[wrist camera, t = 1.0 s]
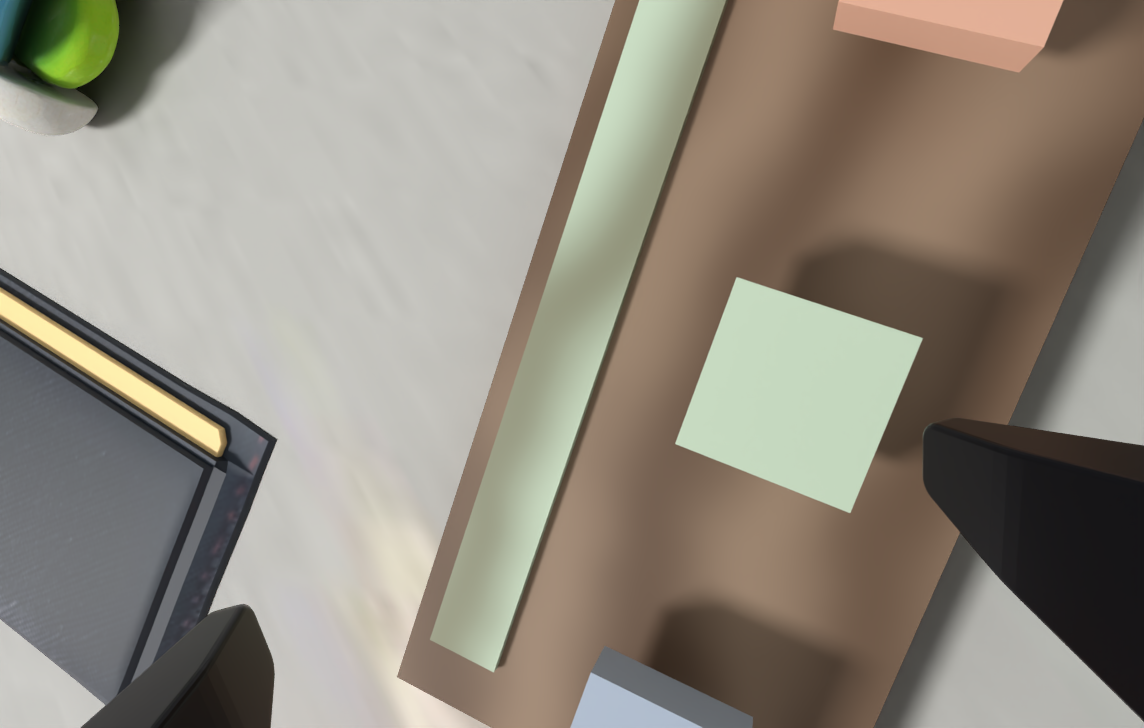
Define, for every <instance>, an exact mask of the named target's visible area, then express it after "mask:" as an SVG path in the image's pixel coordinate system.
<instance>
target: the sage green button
mask: <svg viewBox="0 0 1144 728" xmlns="http://www.w3.org/2000/svg"><path fill="white" fill-rule="evenodd" d="M922 339H923V338H921V337H918V336H915V335H912V334H909V333H906V332H902V331H899V330H896V329H893V328H890V327H887V326H884V325H881V324H878V323H875V322H872V321H869V320H866V319H863V318H860V317H857V316H854V315H851V314H848V313H845V312H842V311H838V310H835V309H832V308H829V307H826V306H823V305H820V304H817V303H814V302H811V301H808V300H805V299H802V298H799V297H796V296H793V295H790V294H787V293H784V292H781V291H777V290H774V289H771V288H768V287H765V286H762V285H759V284H756V283H753V282H750V281H747V280H744V279H741V278H738V277H737V278H736V280H735V283H734V286H733V288H732V291H731V294H730V297H729V299H728V302H727V305H726V307H725V310H724V313H723V315H722V318H721V321H720V324H719V326H718V329H717V332H716V334H715V337H714V340H713V343H712V345H711V348H710V351H709V353H708V356H707V359H706V362H705V364H704V367H703V370H702V372H701V375H700V378H699V381H698V383H697V386H696V389H695V391H694V394H693V397H692V399H691V402H690V405H689V408H688V410H687V413H686V416H685V418H684V421H683V424H682V427H681V429H680V432H679V435H678V437H677V440H676V443H675V444H677V445H679V446H682V447H684V448H687V449H689V450H692V451H694V452H697V453H699V454H702V455H704V456H707V457H709V458H712V459H714V460H717V461H720V462H722V463H725V464H727V465H730V466H732V467H735V468H737V469H740V470H742V471H745V472H747V473H750V474H752V475H755V476H757V477H760V478H762V479H765V480H768V481H770V482H773V483H775V484H778V485H780V486H783V487H785V488H788V489H790V490H793V491H795V492H798V493H800V494H803V495H805V496H808V497H810V498H813V499H816V500H818V501H821V502H823V503H826V504H828V505H831V506H833V507H836V508H838V509H841V510H843V511H846V512H848V513H850V512H851V510H852V508H853V505H854V503H855V500H856V498H857V496H858V493H859V491H860V488H861V486H862V484H863V481H864V479H865V476H866V474H867V472H868V469H869V467H870V464H871V462H872V459H873V457H874V455H875V452H876V450H877V447H878V445H879V443H880V440H881V438H882V435H883V433H884V431H885V428H886V426H887V423H888V421H889V419H890V416H891V414H892V411H893V409H894V407H895V404H896V402H897V399H898V397H899V395H900V392H901V390H902V387H903V385H904V383H905V380H906V378H907V375H908V373H909V370H910V368H911V366H912V363H913V361H914V358H915V356H916V354H917V351H918V349H919V346H920V344H921V342H922Z"/></svg>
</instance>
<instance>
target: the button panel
mask: <svg viewBox="0 0 1144 728" xmlns="http://www.w3.org/2000/svg"><path fill="white" fill-rule="evenodd" d="M838 1H839V0H615V3H614V6H613V9H612V12H611V15H610V19H609V22H608V25H607V28H606V31H605V34H604V37H603V40H602V43H601V46H600V50H599V53H598V56H597V59H596V62H595V65H594V68H593V71H592V74H591V77H590V81H589V84H588V87H587V90H586V93H585V96H584V99H583V102H582V105H581V108H580V112H579V115H578V118H577V121H576V124H575V127H574V130H573V133H572V136H571V139H570V143H569V146H568V149H567V152H566V155H565V158H564V161H563V164H562V167H561V170H560V174H559V177H558V180H557V183H556V186H555V189H554V192H553V195H552V198H551V201H550V205H549V208H548V211H547V214H546V217H545V220H544V223H543V226H542V229H541V232H540V235H539V239H538V242H537V245H536V248H535V251H534V254H533V257H532V260H531V263H530V266H529V270H528V273H527V276H526V279H525V282H524V285H523V288H522V291H521V294H520V297H519V301H518V304H517V307H516V310H515V313H514V316H513V319H512V322H511V325H510V328H509V332H508V335H507V338H506V341H505V344H504V347H503V350H502V353H501V356H500V359H499V363H498V366H497V369H496V372H495V375H494V378H493V381H492V384H491V387H490V390H489V394H488V397H487V400H486V403H485V406H484V409H483V412H482V415H481V418H480V421H479V425H478V428H477V431H476V434H475V437H474V440H473V443H472V446H471V449H470V452H469V456H468V459H467V462H466V465H465V468H464V471H463V474H462V477H461V480H460V483H459V487H458V490H457V493H456V496H455V499H454V502H453V505H452V508H451V511H450V514H449V517H448V521H447V524H446V527H445V530H444V533H443V536H442V539H441V542H440V545H439V548H438V552H437V555H436V558H435V561H434V564H433V567H432V570H431V573H430V576H429V579H428V583H427V586H426V589H425V592H424V595H423V598H422V601H421V604H420V607H419V610H418V614H417V617H416V620H415V623H414V626H413V629H412V632H411V635H410V638H409V641H408V645H407V648H406V651H405V654H404V657H403V660H402V663H401V666H400V669H399V672H398V676H397V677H398V678H400V679H402V680H404V681H405V682H407V683H409V684H411V685H413V686H415V687H417V688H419V689H420V690H422V691H424V692H426V693H428V694H430V695H432V696H434V697H435V698H437V699H439V700H441V701H443V702H445V703H447V704H448V705H450V706H452V707H454V708H456V709H458V710H460V711H462V712H463V713H465V714H467V715H469V716H471V717H473V718H475V719H477V720H478V721H480V722H482V723H484V724H486V725H488V726H490V727H492V728H570V727H571V725H572V722H573V719H574V716H575V714H576V711H577V708H578V706H579V703H580V700H581V698H582V695H583V692H584V689H585V687H586V684H587V681H588V679H589V676H590V673H591V671H592V669H593V667H594V665H595V663H596V661H597V660H598V658H599V656H600V654H601V652H602V650H603V648H604V646H606V647H608V648H611V649H613V650H615V651H617V652H619V653H621V654H623V655H625V656H627V657H629V658H631V659H633V660H635V661H638V662H640V663H642V664H644V665H646V666H648V667H650V668H652V669H654V670H656V671H658V672H660V673H662V674H665V675H667V676H669V677H671V678H673V679H675V680H677V681H679V682H681V683H683V684H685V685H687V686H689V687H692V688H694V689H696V690H698V691H700V692H702V693H704V694H706V695H708V696H710V697H712V698H714V699H716V700H719V701H721V702H723V703H725V704H727V705H729V706H731V707H733V708H735V709H737V710H739V711H741V712H743V713H746V714H748V715H750V716H752V717H753V726H752V728H874V725H875V723H876V721H877V719H878V716H879V714H880V712H881V710H882V707H883V705H884V703H885V701H886V698H887V696H888V694H889V692H890V689H891V687H892V685H893V683H894V680H895V678H896V676H897V674H898V671H899V669H900V667H901V665H902V662H903V660H904V658H905V656H906V653H907V651H908V649H909V647H910V644H911V642H912V640H913V637H914V635H915V633H916V631H917V628H918V626H919V624H920V622H921V619H922V617H923V615H924V613H925V610H926V608H927V606H928V604H929V601H930V599H931V597H932V595H933V592H934V590H935V588H936V586H937V583H938V581H939V579H940V577H941V574H942V572H943V570H944V568H945V565H946V563H947V561H948V559H949V556H950V554H951V552H952V549H953V547H954V545H955V543H956V540H957V538H958V536H959V534H960V532H959V530H958V529H957V528H956V527H955V526H954V524H953V523H952V522H951V521H950V520H949V518H948V517H947V516H946V515H945V514H944V512H943V511H942V510H941V509H940V508H939V506H938V505H937V504H936V503H935V502H934V500H933V499H932V498H931V497H930V495H929V494H928V492H927V490H926V488H925V486H924V482H923V476H922V467H923V432H924V430H925V428H926V427H927V426H928V425H929V424H931V423H934V422H938V421H942V420H946V419H950V418H964V419H971V420H977V421H984V422H991V423H997V424H1004V425H1008V423H1009V421H1010V419H1011V416H1012V414H1013V412H1014V410H1015V407H1016V405H1017V403H1018V401H1019V398H1020V396H1021V394H1022V392H1023V389H1024V387H1025V385H1026V383H1027V380H1028V378H1029V376H1030V374H1031V371H1032V369H1033V367H1034V364H1035V362H1036V360H1037V358H1038V355H1039V353H1040V351H1041V349H1042V346H1043V344H1044V342H1045V340H1046V337H1047V335H1048V333H1049V331H1050V328H1051V326H1052V324H1053V322H1054V319H1055V317H1056V315H1057V313H1058V310H1059V308H1060V306H1061V304H1062V301H1063V299H1064V297H1065V295H1066V292H1067V290H1068V288H1069V286H1070V283H1071V281H1072V279H1073V276H1074V274H1075V272H1076V270H1077V267H1078V265H1079V263H1080V261H1081V258H1082V256H1083V254H1084V252H1085V249H1086V247H1087V245H1088V243H1089V240H1090V238H1091V236H1092V234H1093V231H1094V229H1095V227H1096V225H1097V222H1098V220H1099V218H1100V216H1101V213H1102V211H1103V209H1104V207H1105V204H1106V202H1107V200H1108V198H1109V195H1110V193H1111V191H1112V188H1113V186H1114V184H1115V182H1116V179H1117V177H1118V175H1119V173H1120V170H1121V168H1122V166H1123V164H1124V161H1125V159H1126V157H1127V155H1128V152H1129V150H1130V148H1131V146H1132V143H1133V141H1134V139H1135V137H1136V134H1137V132H1138V130H1139V128H1140V125H1141V123H1142V121H1143V119H1144V0H1063V2H1062V5H1061V7H1060V10H1059V12H1058V14H1057V17H1056V19H1055V22H1054V24H1053V26H1052V29H1051V31H1050V34H1049V36H1048V39H1047V41H1046V43H1045V46H1044V48H1043V49H1042V50H1041V51H1040V52H1039V53H1038V54H1037V55H1036V56H1035V57H1034V58H1033V59H1032V60H1031V61H1030V62H1029V63H1028V64H1027V65H1026V66H1025V67H1024V68H1023V69H1022V70H1021V71H1020V72H1019V73H1018V72H1014V71H1009V70H1005V69H1001V68H997V67H992V66H988V65H984V64H979V63H975V62H971V61H966V60H962V59H958V58H953V57H949V56H945V55H941V54H936V53H932V52H928V51H923V50H919V49H915V48H910V47H906V46H902V45H898V44H893V43H889V42H885V41H880V40H876V39H872V38H867V37H863V36H859V35H854V34H850V33H846V32H842V31H837V30H833V26H834V21H835V16H836V11H837V6H838ZM737 277H738V278H741V279H744V280H747V281H750V282H753V283H756V284H759V285H762V286H765V287H768V288H771V289H774V290H777V291H781V292H784V293H787V294H790V295H793V296H796V297H799V298H802V299H805V300H808V301H811V302H814V303H817V304H820V305H823V306H826V307H829V308H832V309H835V310H838V311H842V312H845V313H848V314H851V315H854V316H857V317H860V318H863V319H866V320H869V321H872V322H875V323H878V324H881V325H884V326H887V327H890V328H893V329H896V330H899V331H902V332H906V333H909V334H912V335H915V336H918V337H921V338H923V339H922V342H921V344H920V346H919V349H918V351H917V354H916V356H915V358H914V361H913V363H912V366H911V368H910V370H909V373H908V375H907V378H906V380H905V383H904V385H903V387H902V390H901V392H900V395H899V397H898V399H897V402H896V404H895V407H894V409H893V411H892V414H891V416H890V419H889V421H888V423H887V426H886V428H885V431H884V433H883V435H882V438H881V440H880V443H879V445H878V447H877V450H876V452H875V455H874V457H873V459H872V462H871V464H870V467H869V469H868V472H867V474H866V476H865V479H864V481H863V484H862V486H861V488H860V491H859V493H858V496H857V498H856V500H855V503H854V505H853V508H852V510H851V512H850V513H848V512H846V511H843V510H841V509H838V508H836V507H833V506H831V505H828V504H826V503H823V502H821V501H818V500H816V499H813V498H810V497H808V496H805V495H803V494H800V493H798V492H795V491H793V490H790V489H788V488H785V487H783V486H780V485H778V484H775V483H773V482H770V481H768V480H765V479H762V478H760V477H757V476H755V475H752V474H750V473H747V472H745V471H742V470H740V469H737V468H735V467H732V466H730V465H727V464H725V463H722V462H720V461H717V460H714V459H712V458H709V457H707V456H704V455H702V454H699V453H697V452H694V451H692V450H689V449H687V448H684V447H682V446H679V445H677V444H675V443H676V440H677V437H678V435H679V432H680V429H681V427H682V424H683V421H684V418H685V416H686V413H687V410H688V408H689V405H690V402H691V399H692V397H693V394H694V391H695V389H696V386H697V383H698V381H699V378H700V375H701V372H702V370H703V367H704V364H705V362H706V359H707V356H708V353H709V351H710V348H711V345H712V343H713V340H714V337H715V334H716V332H717V329H718V326H719V324H720V321H721V318H722V315H723V313H724V310H725V307H726V305H727V302H728V299H729V297H730V294H731V291H732V288H733V286H734V283H735V280H736V278H737Z"/></svg>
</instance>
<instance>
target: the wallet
mask: <svg viewBox="0 0 1144 728" xmlns="http://www.w3.org/2000/svg"><path fill="white" fill-rule="evenodd" d="M275 442H276V439H274V438H273V437H272V436H270V435H269V434H267V433H266V432H264V431H263V430H262V429H260V428H259V427H257V426H256V425H254V424H253V423H251V422H250V421H249V420H247V419H246V418H244V417H243V416H241V415H240V414H238V413H237V412H235V411H233V410H231V409H230V408H228V407H226V406H224V405H223V404H221V403H219V402H217V401H215V400H214V399H212V398H210V397H208V396H207V395H205V394H203V393H201V392H199V391H198V390H196V389H194V388H192V387H191V386H189V385H187V384H186V383H184V382H183V381H181V380H179V379H178V378H176V377H174V376H173V375H171V374H170V373H168V372H166V371H165V370H163V369H162V368H160V367H158V366H157V365H155V364H153V363H152V362H150V361H149V360H147V359H145V358H144V357H142V356H141V355H139V354H137V353H136V352H134V351H133V350H131V349H129V348H128V347H126V346H124V345H123V344H121V343H120V342H118V341H116V340H115V339H113V338H112V337H110V336H108V335H107V334H105V333H103V332H102V331H100V330H99V329H97V328H95V327H94V326H92V325H91V324H89V323H87V322H86V321H84V320H82V319H81V318H79V317H78V316H76V315H74V314H73V313H71V312H70V311H68V310H66V309H65V308H63V307H61V306H60V305H58V304H57V303H55V302H53V301H52V300H50V299H49V298H47V297H45V296H44V295H42V294H41V293H39V292H37V291H36V290H34V289H32V288H31V287H29V286H28V285H26V284H24V283H23V282H21V281H20V280H18V279H16V278H15V277H13V276H11V275H10V274H8V273H7V272H5V271H3V270H2V269H0V619H1V620H2V621H3V622H5V623H6V624H7V625H8V626H10V627H11V628H12V629H13V630H14V631H16V632H17V633H18V634H19V635H21V636H22V637H23V638H24V639H26V640H27V641H28V642H29V643H31V644H32V645H33V646H34V647H36V648H37V649H38V650H39V651H40V652H42V653H43V654H44V655H45V656H47V657H48V658H49V659H50V660H52V661H53V662H54V663H55V664H57V665H58V666H59V667H60V668H61V669H63V670H64V671H65V672H66V673H68V674H69V675H70V676H71V677H73V678H74V679H75V680H76V681H78V682H79V683H80V684H81V685H82V686H83V687H85V688H86V689H87V690H88V691H89V692H91V693H92V694H93V695H94V696H95V697H97V698H98V699H99V700H100V701H101V702H103V703H104V704H105V705H107V704H108V703H109V702H110V701H111V700H112V699H114V698H115V697H116V696H117V695H118V694H119V693H120V692H122V691H123V690H124V689H125V688H126V687H127V686H128V685H129V684H131V683H132V682H133V681H134V680H135V679H136V678H137V677H139V676H140V675H141V674H142V673H143V672H144V671H145V670H146V669H148V668H149V667H150V666H151V665H152V664H153V663H154V662H155V661H157V660H158V659H159V658H160V657H161V656H162V655H163V654H165V653H166V652H167V651H168V650H169V649H170V648H171V647H172V646H174V645H175V644H176V643H177V642H178V641H179V640H180V639H181V638H183V637H184V636H185V635H186V634H187V633H188V632H189V631H191V630H192V629H193V628H194V627H195V626H196V625H197V624H198V623H200V622H201V621H202V620H203V619H204V618H205V617H206V616H207V613H208V611H209V608H210V605H211V603H212V600H213V598H214V595H215V592H216V590H217V587H218V585H219V583H220V580H221V578H222V575H223V573H224V570H225V568H226V566H227V563H228V561H229V558H230V556H231V554H232V551H233V549H234V546H235V544H236V541H237V539H238V537H239V534H240V532H241V529H242V527H243V524H244V522H245V520H246V517H247V515H248V512H249V510H250V507H251V504H252V502H253V499H254V496H255V494H256V491H257V488H258V486H259V483H260V480H261V478H262V475H263V472H264V470H265V467H266V465H267V462H268V460H269V457H270V455H271V452H272V450H273V447H274V445H275Z"/></svg>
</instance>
